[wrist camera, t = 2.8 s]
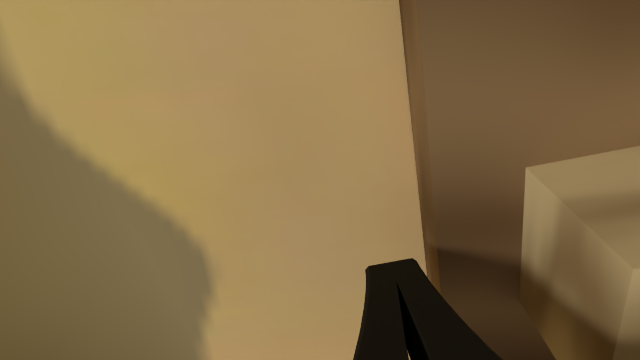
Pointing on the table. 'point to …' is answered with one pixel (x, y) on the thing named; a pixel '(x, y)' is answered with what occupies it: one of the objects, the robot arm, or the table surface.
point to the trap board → (508, 133)
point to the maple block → (584, 255)
